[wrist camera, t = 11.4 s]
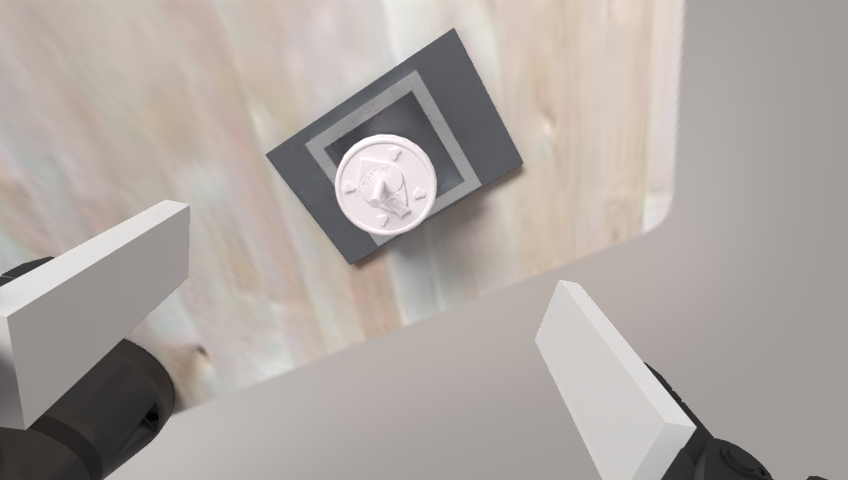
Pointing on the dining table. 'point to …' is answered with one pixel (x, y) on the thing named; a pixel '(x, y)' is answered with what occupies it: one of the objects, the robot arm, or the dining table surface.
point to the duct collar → (409, 118)
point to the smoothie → (386, 185)
